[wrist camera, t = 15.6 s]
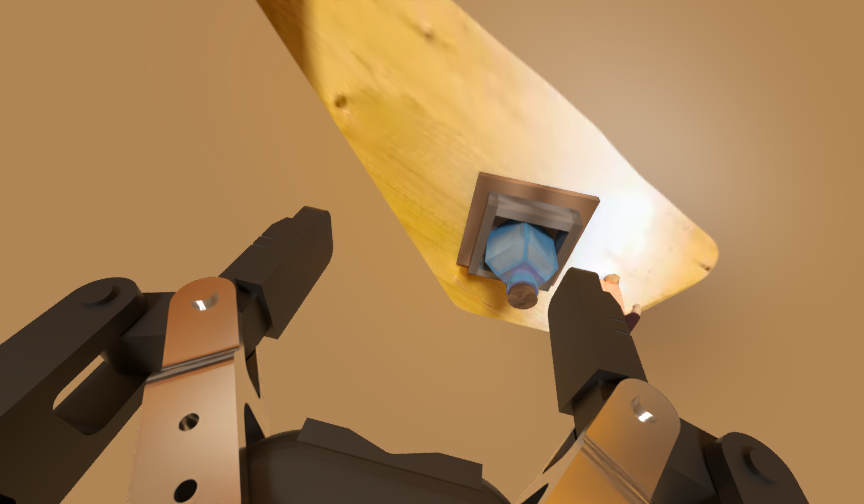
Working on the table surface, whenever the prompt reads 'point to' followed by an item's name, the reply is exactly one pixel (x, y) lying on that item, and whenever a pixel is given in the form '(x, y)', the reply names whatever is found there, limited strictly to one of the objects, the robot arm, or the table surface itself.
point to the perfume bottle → (521, 259)
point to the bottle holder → (523, 218)
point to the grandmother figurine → (613, 288)
